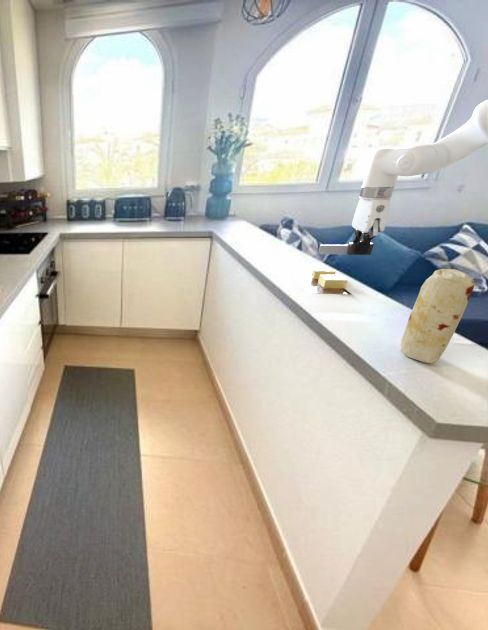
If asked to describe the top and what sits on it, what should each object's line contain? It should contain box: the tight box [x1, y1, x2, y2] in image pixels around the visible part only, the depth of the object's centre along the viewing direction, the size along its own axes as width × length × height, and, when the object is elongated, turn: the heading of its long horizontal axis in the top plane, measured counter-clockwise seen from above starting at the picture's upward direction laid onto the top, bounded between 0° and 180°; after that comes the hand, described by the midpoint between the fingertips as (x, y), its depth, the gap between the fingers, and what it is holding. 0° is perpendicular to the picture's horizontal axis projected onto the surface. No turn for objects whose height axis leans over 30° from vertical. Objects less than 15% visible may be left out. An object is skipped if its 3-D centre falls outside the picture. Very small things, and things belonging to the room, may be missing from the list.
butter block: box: [318, 274, 348, 289], centre depth 112 cm, size 6×5×3 cm
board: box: [291, 275, 352, 295], centre depth 115 cm, size 14×16×2 cm
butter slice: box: [311, 268, 336, 279], centre depth 119 cm, size 6×2×3 cm, turn 76°
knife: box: [318, 241, 375, 256], centre depth 111 cm, size 14×2×4 cm, turn 76°
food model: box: [399, 268, 476, 364], centre depth 74 cm, size 10×7×20 cm
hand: (358, 252), depth 111 cm, fingers closed on knife, 2 cm apart
